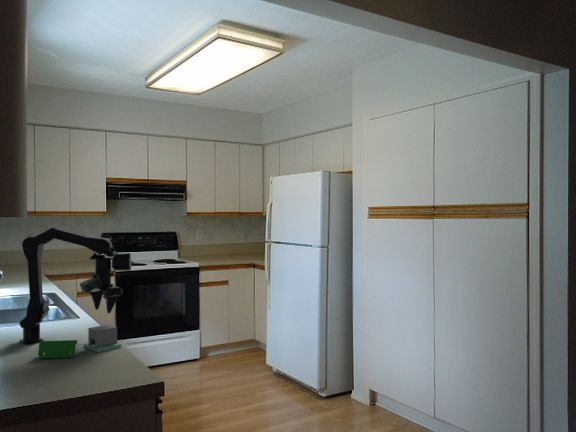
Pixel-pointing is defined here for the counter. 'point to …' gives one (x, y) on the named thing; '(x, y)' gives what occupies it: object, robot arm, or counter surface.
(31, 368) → the counter surface
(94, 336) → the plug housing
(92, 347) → the pin board
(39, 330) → the robot arm
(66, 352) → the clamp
